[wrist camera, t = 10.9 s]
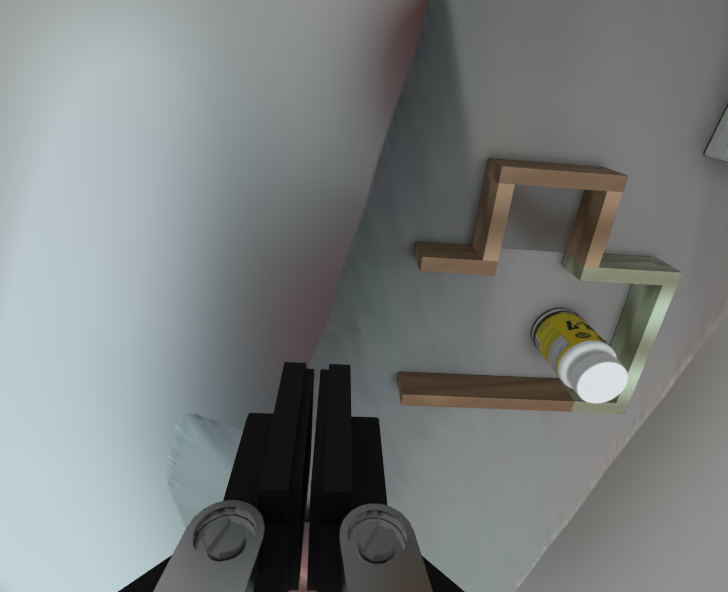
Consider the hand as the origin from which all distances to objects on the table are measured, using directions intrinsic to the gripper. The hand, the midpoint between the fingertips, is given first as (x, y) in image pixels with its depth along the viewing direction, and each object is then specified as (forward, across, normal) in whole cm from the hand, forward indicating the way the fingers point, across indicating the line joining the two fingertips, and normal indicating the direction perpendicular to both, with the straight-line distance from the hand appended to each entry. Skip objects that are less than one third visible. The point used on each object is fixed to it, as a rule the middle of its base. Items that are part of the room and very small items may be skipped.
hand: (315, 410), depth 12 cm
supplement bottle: (+27, -21, +12) cm, 37 cm away
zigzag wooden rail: (+27, -18, +8) cm, 33 cm away
